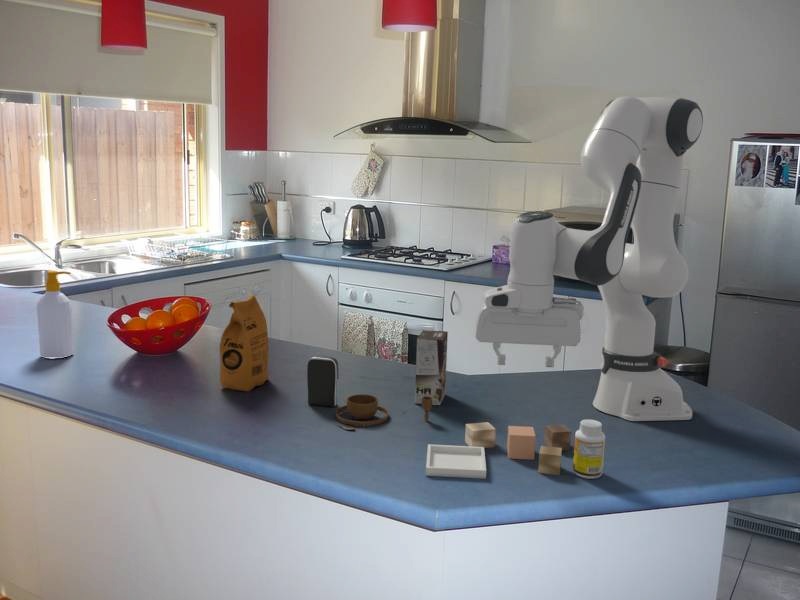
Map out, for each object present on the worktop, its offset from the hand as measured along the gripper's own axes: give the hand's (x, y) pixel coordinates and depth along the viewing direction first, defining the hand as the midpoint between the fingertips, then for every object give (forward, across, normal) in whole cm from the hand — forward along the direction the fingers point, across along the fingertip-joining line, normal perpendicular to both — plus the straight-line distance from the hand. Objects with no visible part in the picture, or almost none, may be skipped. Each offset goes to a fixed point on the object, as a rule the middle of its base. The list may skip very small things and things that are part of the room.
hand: (525, 365), depth 152 cm
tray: (+19, +13, +7) cm, 24 cm away
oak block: (+19, -5, +7) cm, 21 cm away
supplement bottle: (+19, -12, +8) cm, 24 cm away
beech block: (+19, +8, -4) cm, 21 cm away
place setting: (+19, +30, -15) cm, 39 cm away
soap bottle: (+19, +123, -53) cm, 135 cm away
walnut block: (+19, -8, -5) cm, 21 cm away
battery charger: (+19, +44, -24) cm, 53 cm away
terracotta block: (+19, 0, 0) cm, 19 cm away
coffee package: (+19, +66, -36) cm, 77 cm away
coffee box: (+19, +19, -31) cm, 41 cm away
